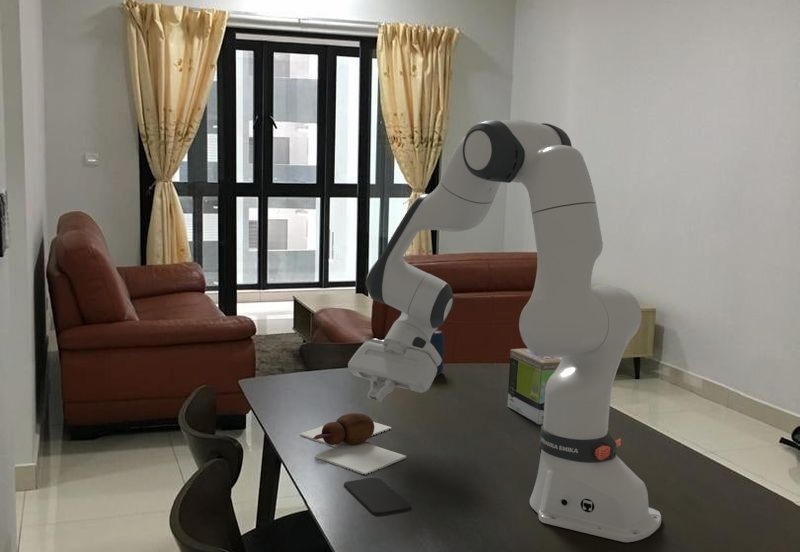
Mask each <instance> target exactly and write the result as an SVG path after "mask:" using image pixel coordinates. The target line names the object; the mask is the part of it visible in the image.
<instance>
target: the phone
mask: <svg viewBox="0 0 800 552" xmlns="http://www.w3.org/2000/svg"><path fill="white" fill-rule="evenodd" d="M343 487H344V488H345V489H346V488H347V489H346V490H347V491H348V492H349V493H350V494H351V495H352V496H354V498H356V500H357V501H358V502H360V504H362V506H363V507H365V508H366V509H367V511H368V512H369V513H370V514H372V515H374V516H379V517H380V516H385V515H386V516H387V515H391V514H397V513H402V512H408V511H411V509H412V504H411V503H409V502H408V501H407V500H406V499H405V498H404V497H402V496H401V495H400V494H399V493H397V492H396V491H395V490H394V489H393V488H392V487H390V486H389V485H388V483H386V482H384V481H383V479H381V478H379V477H370V478H369V477H368V478H362V479H356V480H355V479H354V480H349V481H345V482H344V483H343Z"/></svg>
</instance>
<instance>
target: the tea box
mask: <svg viewBox="0 0 800 552" xmlns="http://www.w3.org/2000/svg"><path fill="white" fill-rule="evenodd" d="M509 354H510V355H509V371H508V372H509V373H508V389H507V392H508V393H507V407H508V408H510V409H512V410H514V411H515V412H517V413H518V414H520V415H522V416H524V417H525V418H527V419H529V420H530V421H532V422H534V423H535V424H537V425H543V422H544V404H545V388H546V384H547V381H548V380H549V378H550V376H551V375H552V374H553V373H554V372H555V370H556V369H557V367H558V366H559V364H560V362H561V359H562V357H547V356H540V355H537V354H535V353H533V352H532V351H530V350H529V349H528V348H511V349H510V353H509Z"/></svg>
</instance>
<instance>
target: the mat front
mask: <svg viewBox="0 0 800 552" xmlns="http://www.w3.org/2000/svg"><path fill="white" fill-rule="evenodd" d="M373 423H374V432H373V435H374V436H376V434H377V435H380V434H382V433H384V431H385V432H387V431H390V430H392V427H391V426H388V425H385V424H382V423H378V422H375V421H373ZM323 426H324V425H321V426H319V427H316V428H313V429H310V430H307V431H304V432H301V433H299V436H301V437H303V438H306V439H309V440H312V441H315V442H318V443H321V444H325V445H327V446H331V447H332V448H337V447H339V446H342V445H345V444H346V443H344V442H341V443H340V444H337V445H329V444H327V443H326V442H325V441H324V440H323V438H322V439H313V438H314V437H315V436H316V435H319V434H322V428H323ZM389 429H390V430H389ZM381 432H382V433H381ZM373 435H372V436H371V437H374V436H373Z"/></svg>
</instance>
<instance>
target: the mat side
mask: <svg viewBox="0 0 800 552" xmlns="http://www.w3.org/2000/svg"><path fill="white" fill-rule="evenodd" d="M314 458H316V459H319V460H322V461H324V462H327V463H330V464H332V465H335V466H338V467H341V468H344V469H346V468H347V469H346V470H349V469H350V470H349V471H352V470H353V472H355V471H356V472H355V473H358V474H362V475H363V474H365V475H364V476H366V474H367V475H369V474H371V472H372V473H374V472H377V471H378V469H379V470H381V469H384V468H386V467H388V466H391V465H392V464H396V463H398V462H400V461H402V460H404V459H407V455H405V454H401V453H398V452H396V451H392V450H389V449H387V448H383V447H380V446H376V445H374V444H370V443H367V442H363V443H361V444H356V445H352V444H345V445H342V446H339V447H337V448H336V447H333V448H331V449H329V450H326V451H323V452H321V453H319V454H318V453H317V454H315V455H314ZM368 473H369V474H368Z"/></svg>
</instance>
